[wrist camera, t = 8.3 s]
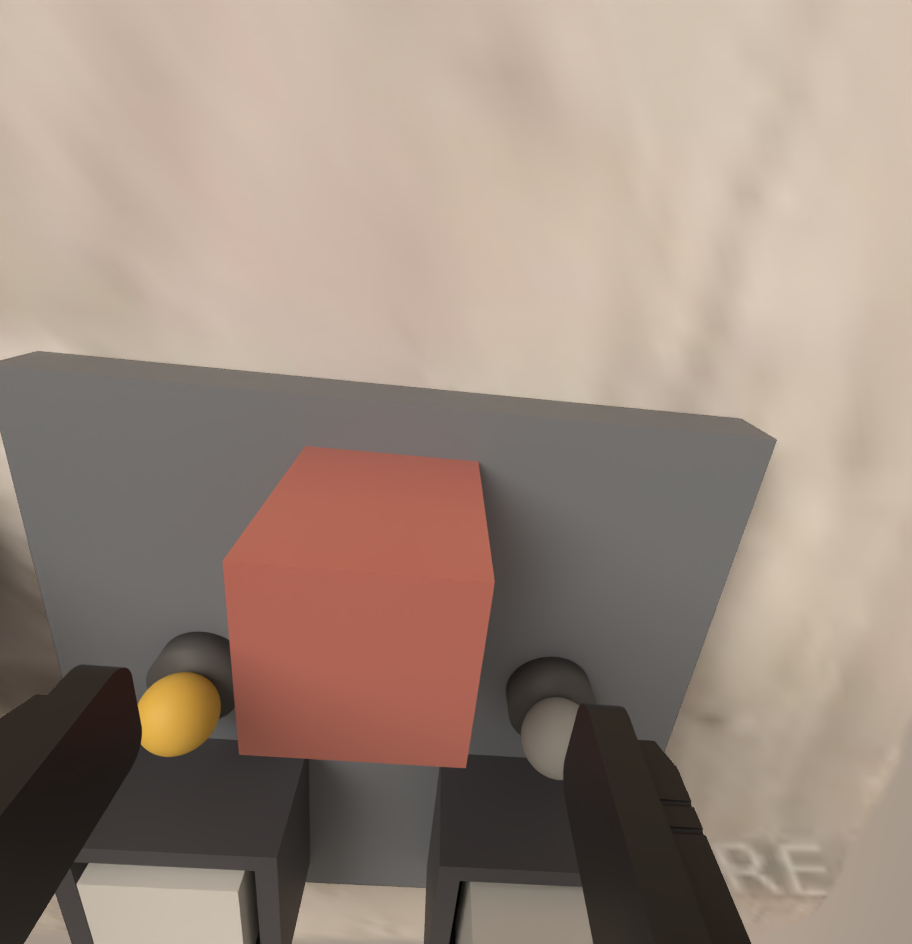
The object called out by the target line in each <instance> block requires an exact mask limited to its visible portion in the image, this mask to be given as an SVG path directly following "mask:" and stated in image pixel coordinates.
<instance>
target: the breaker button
mask: <svg viewBox="0 0 912 944" xmlns="http://www.w3.org/2000/svg"><path fill="white" fill-rule="evenodd" d="M455 943H456V944H593V940H592V935H591V929H590V924H589V919H588V914H587V909H586V904H585V899H584V894H583V889H582V887H572V886H551V885H531V884H510V883H490V882H469V881H462V885H461V891H460V897H459V903H458V909H457V914H456V920H455Z"/></svg>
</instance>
